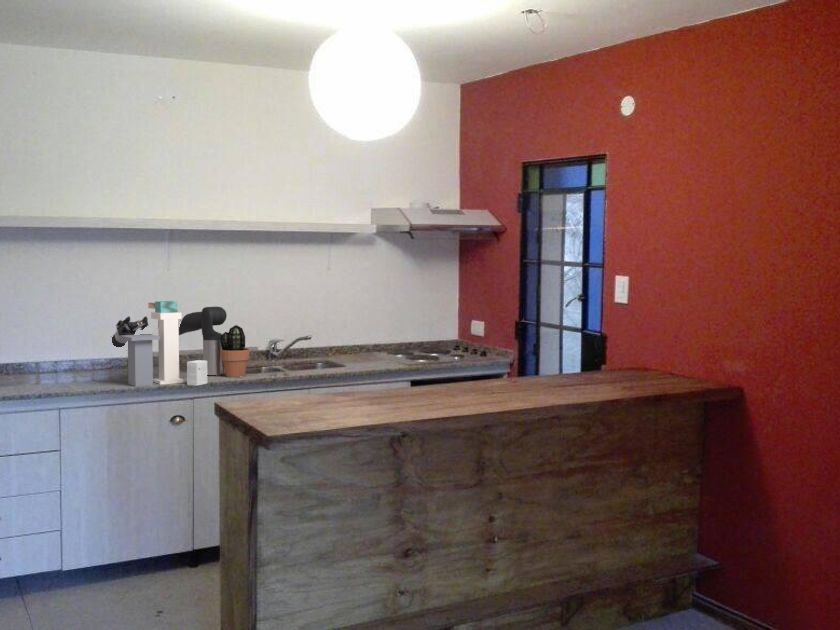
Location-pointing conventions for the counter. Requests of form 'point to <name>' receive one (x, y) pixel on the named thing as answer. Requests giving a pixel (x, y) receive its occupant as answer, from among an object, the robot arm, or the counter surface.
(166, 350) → the tall stand
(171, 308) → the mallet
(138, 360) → the pedestal
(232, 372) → the potted plant
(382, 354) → the counter surface
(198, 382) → the small box
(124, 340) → the robot arm
